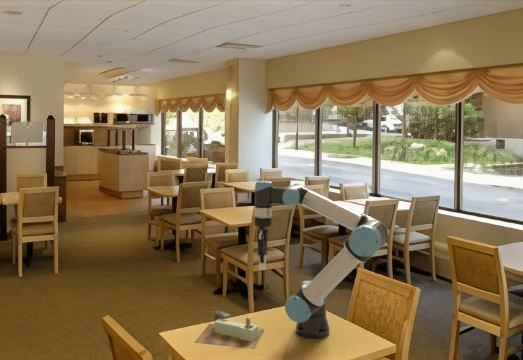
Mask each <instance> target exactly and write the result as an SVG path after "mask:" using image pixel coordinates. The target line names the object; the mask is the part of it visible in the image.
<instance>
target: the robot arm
mask: <svg viewBox="0 0 523 360" xmlns="http://www.w3.org/2000/svg"><path fill="white" fill-rule="evenodd" d="M254 186H255V187H254V208H253V211H254V216H255V217H254V221H253V222H254V223H253V224H254V225H255V227H258V230H257V235H256V238H257V254H256V255H257V256H258V271H259V270H260V271H266V270H267V269H266V268H267V267H266V266H267V263H266V261H267V255H268V238H269V229H268V227H271V226H272V225H273V220H272V219H273V218H272V216H273V205H280V206H287V207H289V206H290V207H291V206H292V207H295V206H298V205H301V206H304V207H305V208H307V209H308V210H311V211H313V212H314V213H317V214H318V215H321V216H323V217H324V218H326V219H329V220H331V221H332V222H335V223H337V224H338V225H341V226H343V227H345V228H346V229H349V230H350V231H352V232H351V233H350V234H349V236H348V237H347V238H346V239H345V240H344V241H343V248H342V249H341V250H340V251H339V252H338V253H337V254H336V255H335V256H334V257H333V258H332V259H331V260H330V261H329V262H328V263H327V264H326V266H325V267H323V269H322V270H321V271H320V272H318V274H317V275H316V276H315V277H314V278H313V279H312V280H303V281H301V283H300V287H299V289H297V290H296V291H295V292H294V294H292V295H290V296H289V297H288V298H287V299H286V302H285V304H284V310H285V314H286V316H287V317H288V318H289V319H290V320H291V321H292V322H294V323H296V325H295V333H296V334H297V335H299V336H301V337H304V338H308V339H321V338H325V337H328V336H329V335H330V325H329V322H328V318H327V298H328V297H327V296H328V295H329V294H330V293H331V292H332V291H333V290H334V289H335V288H336V287H337V286H338V284H339V283H341V282H342V281H343V280H344V279H345V278H346V277H347V276H348V275H349V274H350V273H351V272H352V271H353V270H354V269H355V268H356V267H357V266H358V265H359V264H360V263H366V262H367V261H368V260H369V259H370V258H371V257H373V255H374V254H375V253H377V252H378V251H379V249H381V247H383V246H384V245H385V244H386V243H387V241H388V238H389V232H388V229H387V226H386V225H385V224H384V223H383V222H382V221H380V220H378V219H376V218H374V217H372V216H369V215H367V214H365V213H362V214H360V213H358V212H356V211H354V210H352V209H349V208H348V207H346V206H344V205H341V204H339V203H337V202H335V201H333V200H331V199H329V198H327V197H325V196H323V195H320V194H318V193H316V192H315V191H312V190H310V189H308V187H307V186H306V185H305V184H303V183H295V184H292V185H289V186H285V187H283V186H282V187H281V186H280V187H279V186H273V182H272V181H270V180H258V181H256V182H255V184H254Z"/></svg>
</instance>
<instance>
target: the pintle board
mask: <svg viewBox="0 0 523 360" xmlns="http://www.w3.org/2000/svg"><path fill="white" fill-rule="evenodd" d="M231 316H232V314H229V313H228V312H225V311H222V310H217V309H216V310H215V311H214V322H215V321H216V320H218V319H222V318H224V319H229V318H231ZM245 323H246V328H249V329H250V324H251V318H250V317H246V318H245ZM265 330H266V328H259V327H258V337H257V338H256V339H254V340H253V341H247V340H242V339H239V338H238V337H233V336H228V335H223V334H219V333H214V323H209V324H208V325H207V327H205V328H204V330H203V331H202V333H200V335H199V336H198V337H197V338H196V340H195V341H194V343H195V344H205V345H213V346H222V347H234V348H241V349H251V350H252V349H253V350H255V349H256V347H257V345H258V343H259V341H260V339H261V338H262V336H263V334H264V331H265Z"/></svg>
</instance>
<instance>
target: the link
mask: <svg viewBox="0 0 523 360" xmlns="http://www.w3.org/2000/svg"><path fill="white" fill-rule="evenodd" d="M213 324H214V333H219V334H223V335H228V336H233V337H238V338H239V339H242V340H247V341H253V340H254V339H256V338H257V337H258V328H259V325H257V324H252V323H250V329H249V328H246V322H245V323H242V322H237V321H232V320H227V319H222V318H221V319H218V320H216V321H215V320H214V323H213Z"/></svg>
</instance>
